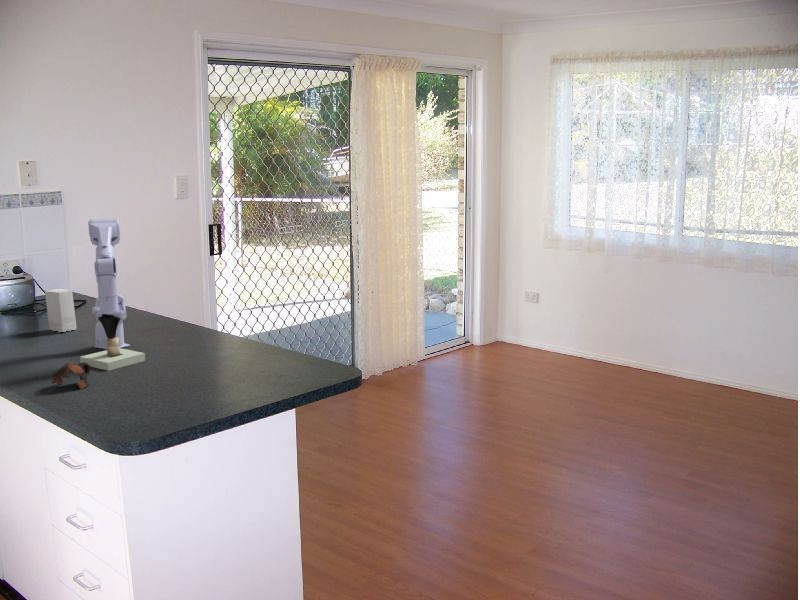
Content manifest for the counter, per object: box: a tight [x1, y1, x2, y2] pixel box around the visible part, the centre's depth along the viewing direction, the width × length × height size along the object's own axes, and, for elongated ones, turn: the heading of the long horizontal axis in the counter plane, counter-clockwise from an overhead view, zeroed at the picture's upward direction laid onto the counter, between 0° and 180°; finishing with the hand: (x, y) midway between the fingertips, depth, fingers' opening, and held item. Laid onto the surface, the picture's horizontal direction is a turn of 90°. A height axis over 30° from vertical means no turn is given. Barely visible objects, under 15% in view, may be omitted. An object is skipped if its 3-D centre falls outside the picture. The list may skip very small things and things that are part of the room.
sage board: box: [79, 348, 146, 371], centre depth 267 cm, size 14×14×2 cm
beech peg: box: [106, 337, 120, 358], centre depth 266 cm, size 4×4×8 cm
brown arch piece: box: [49, 361, 91, 390], centre depth 242 cm, size 12×10×8 cm
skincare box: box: [44, 288, 78, 333], centre depth 311 cm, size 8×7×16 cm
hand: (111, 337), depth 265 cm, fingers closed
